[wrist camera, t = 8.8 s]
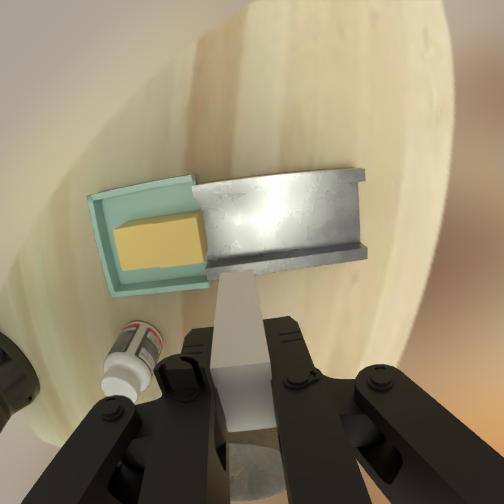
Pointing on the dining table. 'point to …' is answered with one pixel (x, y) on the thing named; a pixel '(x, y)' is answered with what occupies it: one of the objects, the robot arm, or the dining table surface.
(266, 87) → the dining table surface
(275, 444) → the bowl
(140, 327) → the pill bottle
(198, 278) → the tray
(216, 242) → the slot rail
